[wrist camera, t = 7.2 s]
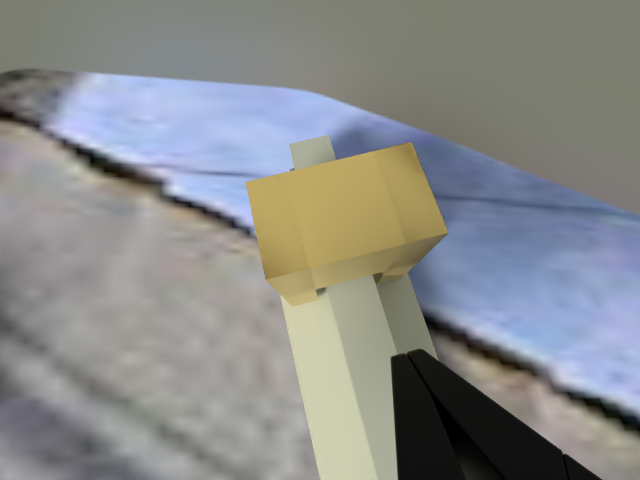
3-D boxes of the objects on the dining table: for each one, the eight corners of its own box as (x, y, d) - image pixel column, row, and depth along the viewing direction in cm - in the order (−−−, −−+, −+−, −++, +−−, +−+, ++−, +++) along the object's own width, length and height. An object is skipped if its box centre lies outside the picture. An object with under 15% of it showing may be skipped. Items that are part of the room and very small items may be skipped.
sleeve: (401, 278, 20) (449, 232, 12) (292, 306, 19) (265, 279, 11) (381, 218, 21) (411, 141, 13) (278, 245, 21) (245, 182, 13)
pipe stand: (499, 546, 16) (560, 620, 12) (347, 593, 16) (353, 687, 12) (366, 163, 24) (374, 121, 19) (258, 189, 23) (241, 152, 19)
